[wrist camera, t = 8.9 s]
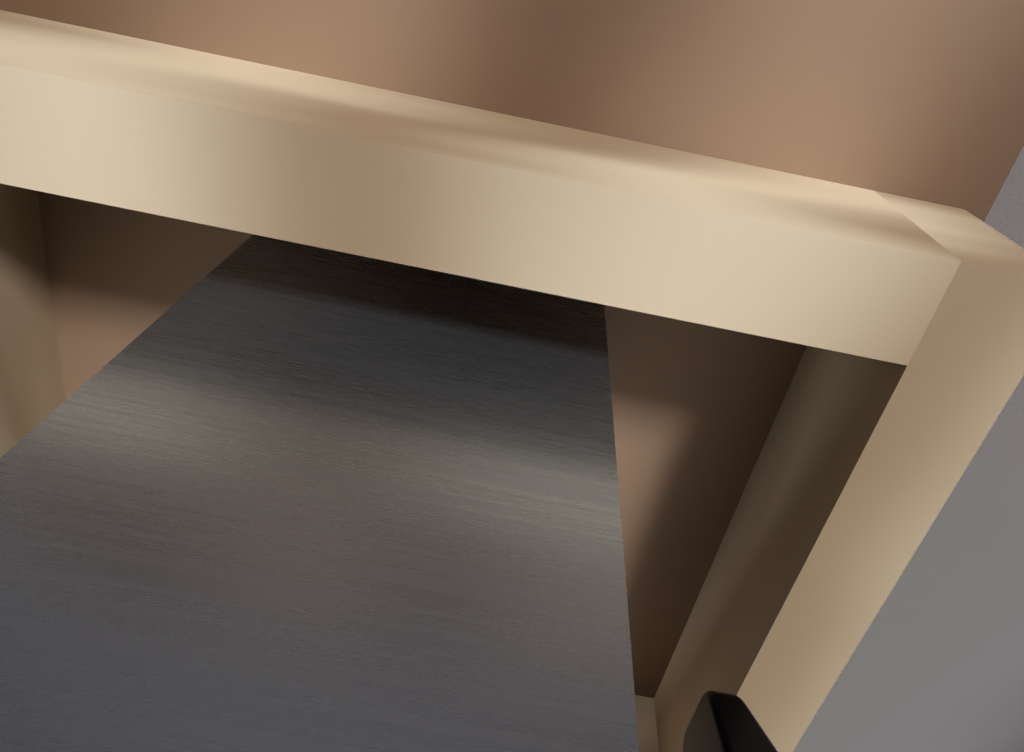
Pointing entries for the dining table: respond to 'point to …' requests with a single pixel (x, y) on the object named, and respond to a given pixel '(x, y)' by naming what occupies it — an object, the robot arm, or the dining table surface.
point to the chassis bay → (583, 253)
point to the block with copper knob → (324, 525)
